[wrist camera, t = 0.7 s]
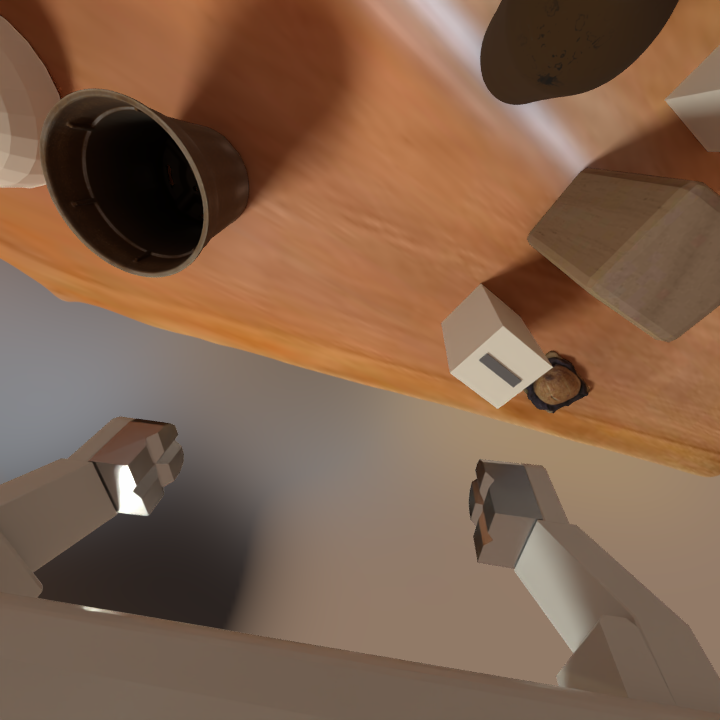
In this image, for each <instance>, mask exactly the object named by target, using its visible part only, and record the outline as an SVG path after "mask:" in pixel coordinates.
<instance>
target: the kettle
mask: <svg viewBox="0 0 720 720" xmlns="http://www.w3.org/2000/svg"><path fill="white" fill-rule="evenodd" d="M58 101H60V96H59V94H58V91H57V89H56V87H55V85H54V83H53V81H52V79H51V77H50V75H49V73H48V71H47V69H46V67H45V66H44V64H43V63H42V61H41V60H40V59H39V57H38V56H37V54H36V53H35V51H34V50H33V49H32V47H31V46H30V44H29V43H28V42H27V41H26V40H25V39H24V38H23V37H22V35H21V34H20V33H19V32H18V31H17V30H16V29H15V28H14V27H13V26H12V25H11V24H10V23H9V22H8V21H7V20H6V19H5V18H3V17H2V16H0V187H23V188H34V187H38V186H42V185H46V182H45V179H44V175H43V172H42V168H41V162H40V136H41V131H42V127H43V124H44V121H45V119H46V117H47V115H48V113H49V112H50V110H51V109H52V108H53V107H54V105H55V104H56V103H57V102H58Z"/></svg>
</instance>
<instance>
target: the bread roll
mask: <svg viewBox="0 0 720 720" xmlns="http://www.w3.org/2000/svg"><path fill="white" fill-rule="evenodd" d="M545 356H546V357H547V359H548V360H549V362H550V364H551V365H552V367H553V368H551V369H550V370H549V371H547V372H546V373H545V374H543V375H542V376H541V377H539V378H538V379H537V380H535V381H534V382H533V383H532V384H530V385H529V386H528V387H526V388H525V389H524V390H523V391H524V392H525V393H526V394H527V397H528V399H529V400H531V401H532V403H533V404H534V405H535V407H536V408H538V409H540V410H546V411H547V412H549V413H554V412H555V411H556V410H558V409H559V408H561V407H563V406H569V405H570V404H571V403H573V402H574V401H577V400H579V399H581V398H583V397H584V396H587V395H588V392H589V391H590V389H589V387H588V386H587V385H586V383H585V382H584V381H583V379H582V378H581V376H580V375H579V374H578V373H577V372H576V371H575V369H574V366H573V365H572V363H571V362H569V361H566V360H565V359H564V358H562V357H561V356H559V355H558V354H557V353H556V352H554V351H550V352H548V353H547V354H546V355H545Z"/></svg>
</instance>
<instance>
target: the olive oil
mask: <svg viewBox="0 0 720 720" xmlns="http://www.w3.org/2000/svg"><path fill="white" fill-rule="evenodd" d="M677 3H678V0H502V1H501V3H500V5H499V7H498V9H497V11H496V13H495V14H494V16H493V18H492V20H491V22H490V24H489V26H488V28H487V31H486V33H485V36H484V39H483V43H482V48H481V56H480V64H481V72H482V76H483V80H484V82H485V84H486V86H487V88H488V90H489V91H490V92H491V93H492V95H493V96H495V97H496V98H497V99H499V100H500V101H502V102H504V103H508V104H513V105H521V104H527V103H531V102H535V101H539V100H545V99H550V98H557V97H564V96H571V95H576V94H580V93H584V92H587V91H590V90H592V89H595V88H597V87H599V86H601V85H603V84H605V83H607V82H608V81H610V80H612V79H613V78H615V77H616V76H618V75H619V74H620V73H622V72H623V71H624V70H625V69H627V68H628V67H629V66H630V65H631V64H632V63H633V62H634V61H635V60H636V59H637V58H638V57H639V56H640V55H641V54H642V53H643V52H644V51H645V50H646V49H647V48H648V47H649V45H650V44H651V43H652V42H653V41H654V39H655V38H656V37H657V35H658V34H659V33H660V31H661V30H662V28H663V27H664V25H665V24H666V22H667V21H668V19H669V18H670V16H671V14H672V12H673V10H674V8H675V7H676V5H677Z"/></svg>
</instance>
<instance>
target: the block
mask: <svg viewBox="0 0 720 720" xmlns="http://www.w3.org/2000/svg"><path fill="white" fill-rule="evenodd" d="M527 240H528V242H529V244H530V245H531V246H532V247H533V248H535V249H536V250H537V251H538V252H540V253H541V254H542V255H543V256H544V257H546V258H547V259H548V260H549V261H551V262H552V263H553V264H554V265H555V266H557V267H558V268H559V269H560V270H561V271H563V272H564V273H565V274H566V275H568V276H569V277H570V278H571V279H572V280H574V281H575V282H576V283H577V284H579V285H580V286H581V287H582V288H583V289H585V290H586V291H587V292H588V293H589V294H591V295H592V296H594V297H595V298H597V299H598V300H600V301H601V302H602V303H604V304H605V305H607V306H608V307H610V308H611V309H612V310H614V311H615V312H617V313H618V314H620V315H621V316H623V317H624V318H625V319H627V320H628V321H630V322H631V323H633V324H634V325H635V326H637V327H638V328H640V329H641V330H643V331H644V332H646V333H647V334H648V335H650V336H651V337H653V338H654V339H656V340H661V341H666V342H671V341H673V340H675V339H677V338H679V337H680V336H681V335H682V334H684V333H685V332H686V331H688V330H689V329H690V328H691V327H693V326H694V325H695V324H696V323H698V322H699V321H700V320H702V319H703V318H704V317H705V316H707V315H708V314H709V313H711V312H712V311H713V310H714V309H716V308H717V307H718V306H719V305H720V196H719V195H718V194H717V193H715V192H714V191H713V190H712V189H711V188H709V187H708V186H707V185H706V184H704V183H703V182H698V181H691V180H683V179H675V178H666V177H658V176H650V175H642V174H634V173H626V172H617V171H609V170H601V169H593V168H586V169H585V170H583V171H581V172H580V173H579V174H578V176H577V177H576V178H575V179H574V180H573V182H572V183H571V184H570V185H569V186H568V188H567V189H566V190H565V191H564V192H563V194H562V195H561V196H560V197H559V198H558V200H557V201H556V202H555V203H554V204H553V206H552V207H551V208H550V209H549V210H548V212H547V213H546V214H545V215H544V216H543V218H542V219H541V220H540V221H539V222H538V224H537V225H536V226H535V227H534V228H533V230H532V231H531V232H530V233H529V236H528V238H527Z"/></svg>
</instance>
